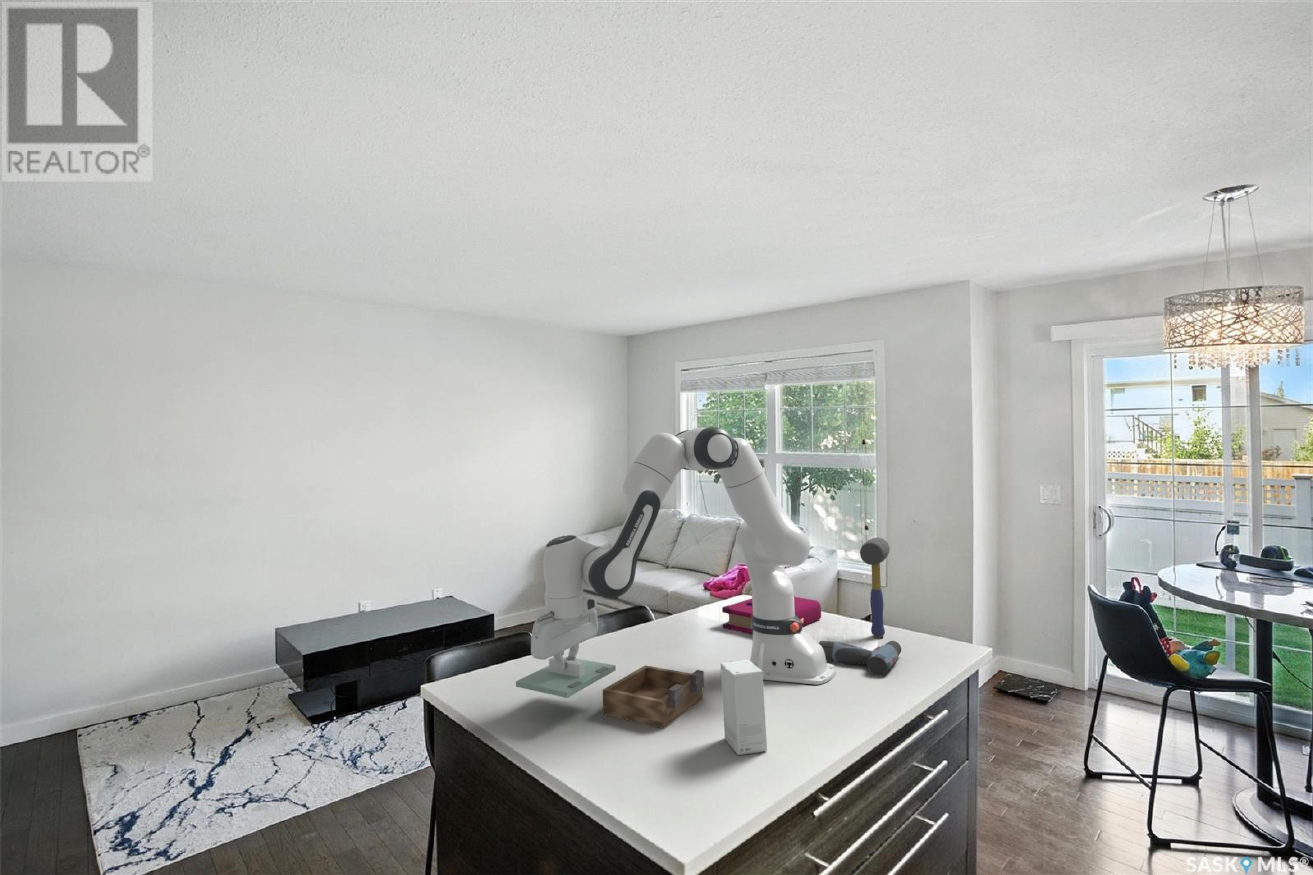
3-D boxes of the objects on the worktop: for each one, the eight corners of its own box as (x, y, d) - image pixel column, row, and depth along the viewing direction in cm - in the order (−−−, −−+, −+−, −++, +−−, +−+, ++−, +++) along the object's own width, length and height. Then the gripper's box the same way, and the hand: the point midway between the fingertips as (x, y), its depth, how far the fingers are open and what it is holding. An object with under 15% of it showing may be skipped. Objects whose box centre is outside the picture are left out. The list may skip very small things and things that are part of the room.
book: (821, 621, 215) (821, 599, 215) (774, 641, 195) (773, 616, 195) (770, 611, 230) (769, 590, 230) (721, 629, 210) (720, 605, 210)
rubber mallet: (887, 644, 187) (883, 542, 188) (861, 641, 191) (857, 541, 192) (894, 632, 198) (890, 536, 199) (869, 630, 202) (866, 535, 203)
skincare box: (767, 752, 124) (765, 671, 124) (735, 756, 122) (732, 675, 123) (752, 733, 132) (749, 658, 132) (721, 737, 130) (719, 661, 131)
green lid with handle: (615, 670, 151) (614, 653, 151) (567, 697, 136) (566, 679, 136) (567, 661, 159) (566, 645, 159) (515, 686, 143) (515, 668, 143)
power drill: (835, 646, 188) (906, 657, 177) (812, 665, 173) (888, 678, 161) (835, 628, 188) (905, 638, 177) (812, 645, 173) (887, 657, 161)
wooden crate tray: (708, 699, 150) (707, 668, 150) (670, 730, 135) (669, 694, 135) (645, 687, 159) (644, 657, 159) (603, 714, 144) (602, 680, 144)
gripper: (544, 620, 137) (547, 684, 137) (601, 598, 154) (603, 655, 154) (522, 617, 140) (525, 680, 140) (580, 596, 158) (582, 651, 157)
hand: (566, 666), depth 147 cm, fingers closed on green lid with handle, 2 cm apart
